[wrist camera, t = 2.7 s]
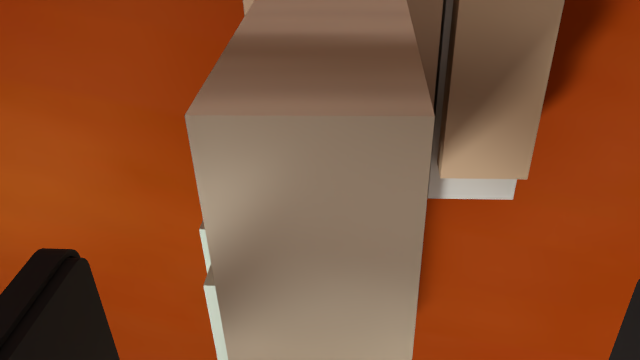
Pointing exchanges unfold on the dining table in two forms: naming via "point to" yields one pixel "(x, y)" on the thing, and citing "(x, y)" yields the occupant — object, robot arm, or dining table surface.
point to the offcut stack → (489, 94)
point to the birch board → (316, 180)
